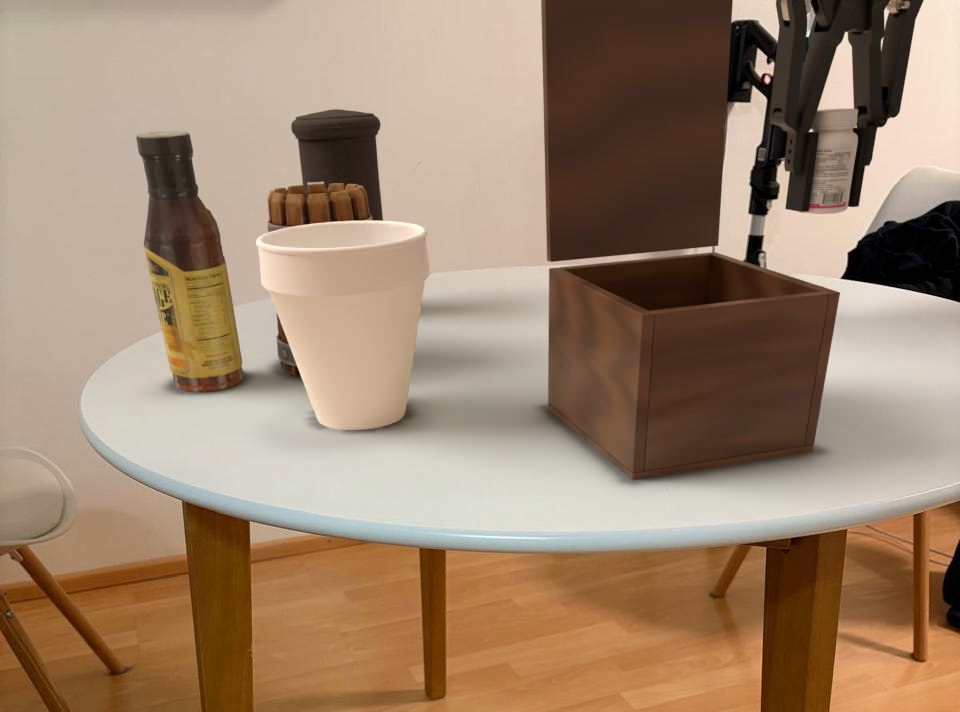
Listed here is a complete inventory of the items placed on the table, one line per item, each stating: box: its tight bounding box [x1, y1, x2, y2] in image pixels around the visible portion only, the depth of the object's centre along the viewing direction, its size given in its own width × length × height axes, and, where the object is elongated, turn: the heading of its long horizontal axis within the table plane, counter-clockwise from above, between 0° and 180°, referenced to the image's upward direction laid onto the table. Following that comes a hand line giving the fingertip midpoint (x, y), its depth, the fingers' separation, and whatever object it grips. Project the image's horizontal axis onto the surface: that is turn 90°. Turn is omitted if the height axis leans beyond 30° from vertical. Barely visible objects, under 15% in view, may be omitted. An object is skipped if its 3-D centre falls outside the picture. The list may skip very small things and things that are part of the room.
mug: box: [266, 182, 373, 377], centre depth 83 cm, size 16×11×15 cm
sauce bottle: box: [135, 130, 244, 393], centre depth 76 cm, size 7×6×20 cm
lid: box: [540, 0, 734, 263], centre depth 64 cm, size 16×14×1 cm
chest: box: [547, 251, 841, 481], centre depth 65 cm, size 16×14×11 cm
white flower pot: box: [255, 220, 431, 431], centre depth 69 cm, size 12×12×14 cm
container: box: [290, 108, 384, 221], centre depth 97 cm, size 9×9×20 cm
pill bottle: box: [797, 108, 858, 215], centre depth 85 cm, size 5×5×8 cm
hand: (821, 207), depth 87 cm, fingers closed on pill bottle, 5 cm apart
